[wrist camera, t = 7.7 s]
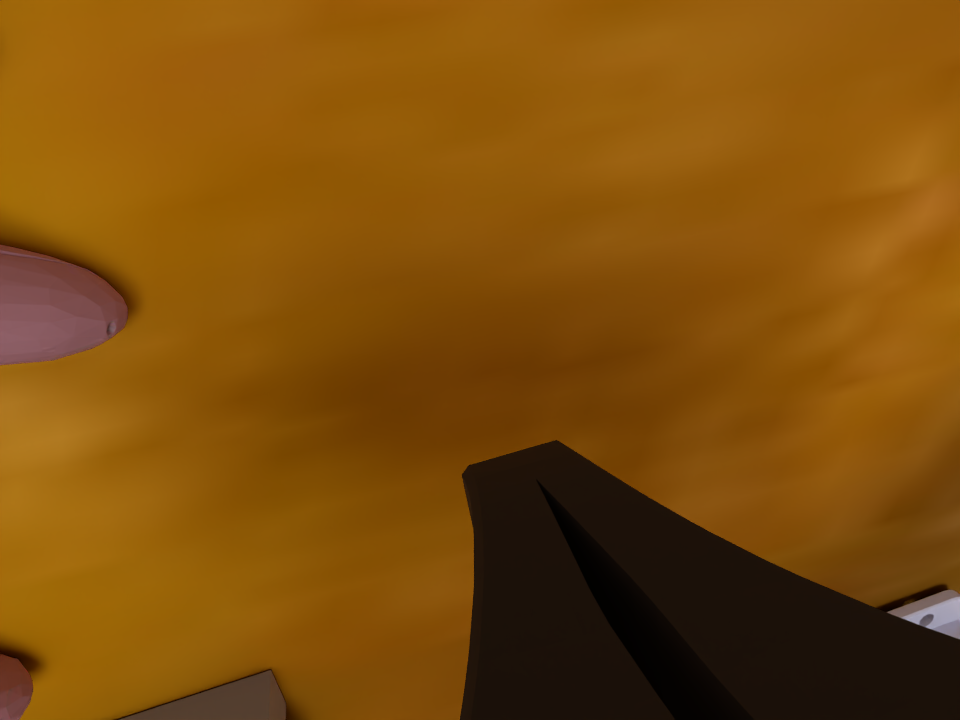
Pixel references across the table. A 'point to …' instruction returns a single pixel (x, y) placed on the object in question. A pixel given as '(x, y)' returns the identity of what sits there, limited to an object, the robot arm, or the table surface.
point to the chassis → (226, 703)
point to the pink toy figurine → (47, 358)
